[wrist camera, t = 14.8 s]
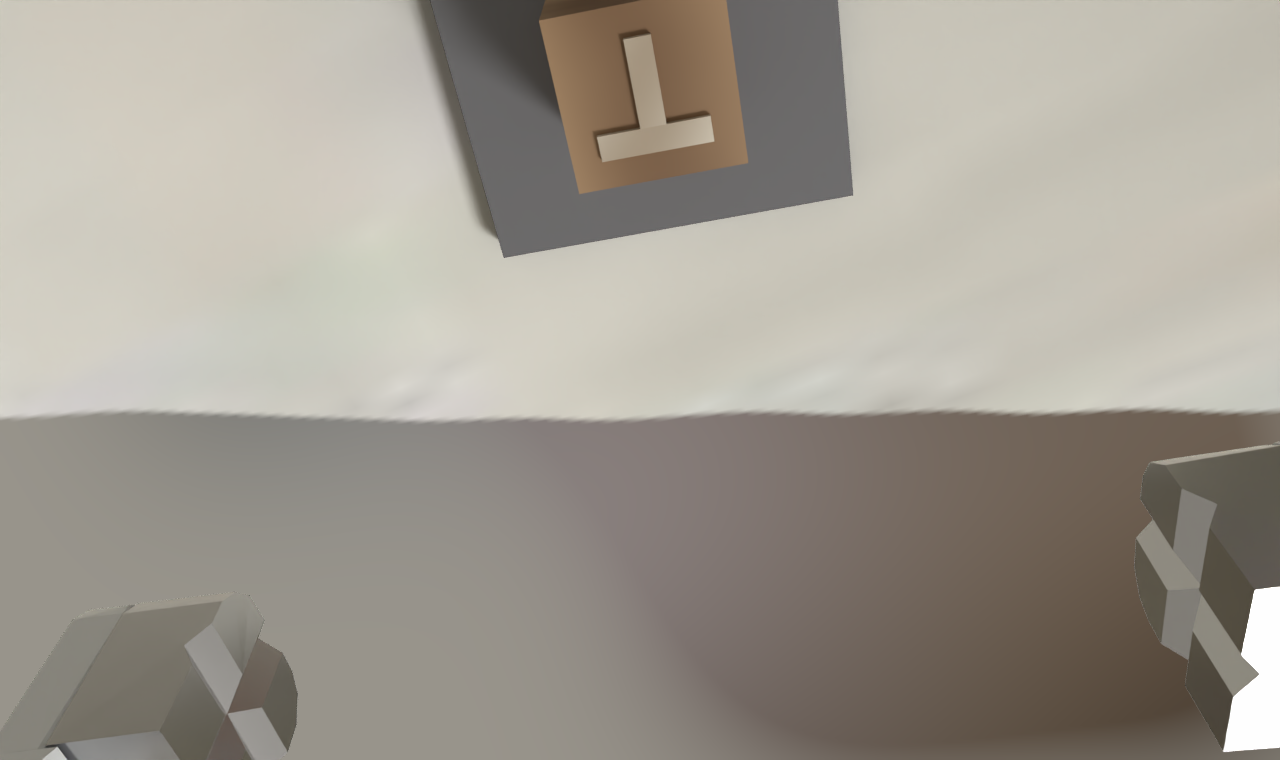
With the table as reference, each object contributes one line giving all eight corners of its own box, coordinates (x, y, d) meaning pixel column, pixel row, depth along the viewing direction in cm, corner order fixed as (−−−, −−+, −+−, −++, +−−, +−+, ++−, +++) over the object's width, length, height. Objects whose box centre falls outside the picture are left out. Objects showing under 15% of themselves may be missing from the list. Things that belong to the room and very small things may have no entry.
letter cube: (710, -50, 25) (724, -16, 21) (732, 109, 27) (749, 164, 23) (550, -17, 25) (538, 22, 21) (585, 137, 27) (579, 196, 24)
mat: (814, -217, 23) (820, -216, 23) (847, 184, 29) (853, 195, 28) (401, -127, 24) (394, -124, 24) (506, 246, 30) (503, 257, 29)
